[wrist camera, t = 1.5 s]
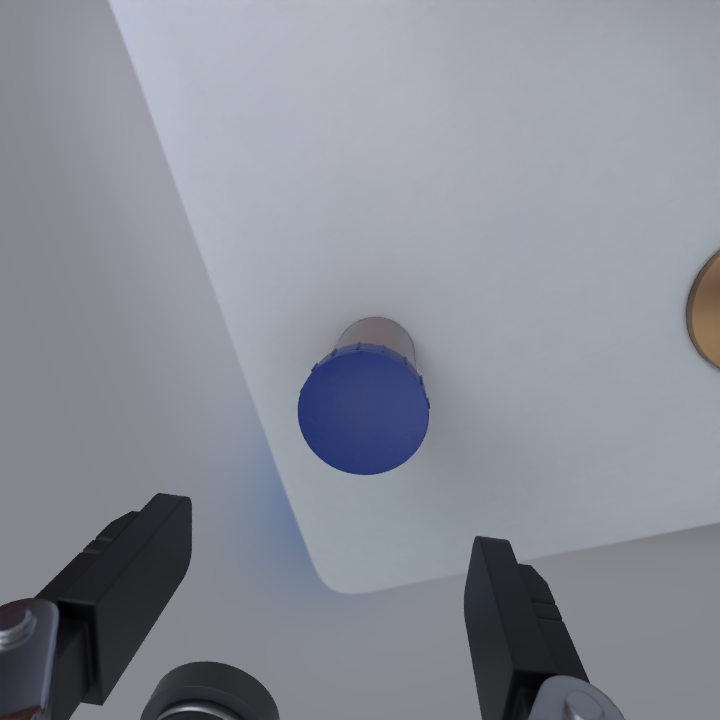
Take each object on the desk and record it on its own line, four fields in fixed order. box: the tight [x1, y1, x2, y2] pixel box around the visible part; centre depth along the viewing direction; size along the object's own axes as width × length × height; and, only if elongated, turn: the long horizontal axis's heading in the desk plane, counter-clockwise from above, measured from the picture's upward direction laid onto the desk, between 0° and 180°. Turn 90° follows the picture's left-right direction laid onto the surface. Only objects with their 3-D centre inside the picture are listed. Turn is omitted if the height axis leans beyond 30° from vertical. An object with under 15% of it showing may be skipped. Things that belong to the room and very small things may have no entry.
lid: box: [298, 342, 430, 475], centre depth 21 cm, size 6×6×2 cm
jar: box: [332, 317, 417, 371], centre depth 26 cm, size 5×5×10 cm
